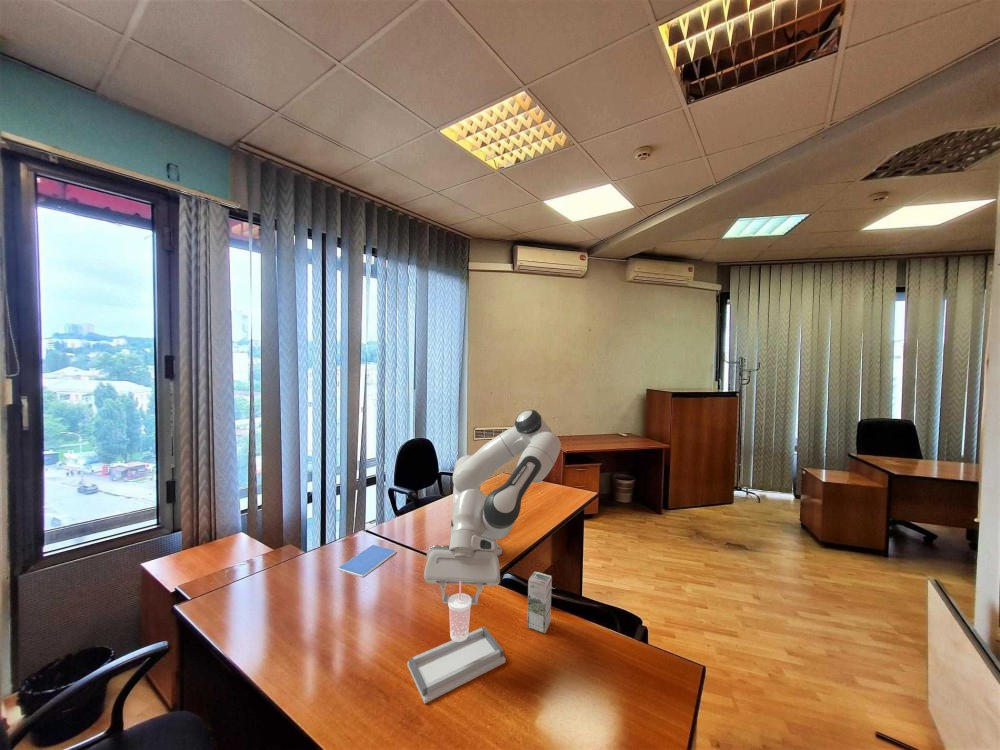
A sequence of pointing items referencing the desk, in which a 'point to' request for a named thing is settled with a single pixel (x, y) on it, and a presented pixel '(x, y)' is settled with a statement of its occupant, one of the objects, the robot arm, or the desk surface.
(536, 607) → the syrup box
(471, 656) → the rectangular tray
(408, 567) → the desk surface
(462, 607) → the beverage cup
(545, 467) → the robot arm
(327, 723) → the desk surface
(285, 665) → the desk surface
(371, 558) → the tablet computer
